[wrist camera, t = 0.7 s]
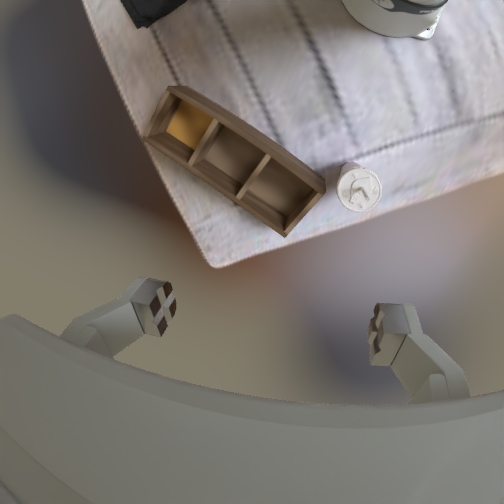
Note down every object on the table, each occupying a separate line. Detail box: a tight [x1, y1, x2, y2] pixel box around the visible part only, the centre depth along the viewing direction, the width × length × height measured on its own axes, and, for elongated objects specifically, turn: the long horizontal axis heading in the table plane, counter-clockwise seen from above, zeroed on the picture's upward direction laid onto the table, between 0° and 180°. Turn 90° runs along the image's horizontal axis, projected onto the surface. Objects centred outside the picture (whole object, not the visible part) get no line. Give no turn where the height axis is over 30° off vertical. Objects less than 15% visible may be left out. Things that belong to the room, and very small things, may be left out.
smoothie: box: [336, 162, 382, 212], centre depth 36 cm, size 6×6×14 cm
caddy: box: [142, 86, 326, 238], centre depth 42 cm, size 10×29×6 cm, turn 56°
